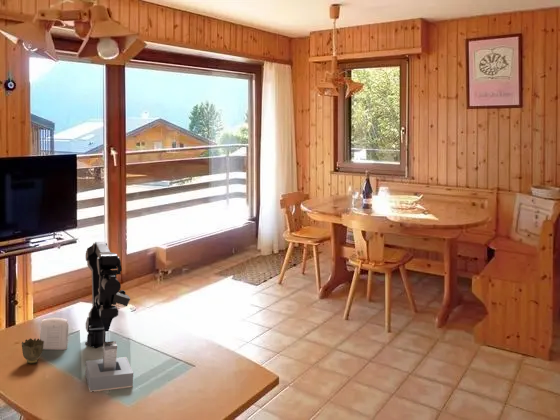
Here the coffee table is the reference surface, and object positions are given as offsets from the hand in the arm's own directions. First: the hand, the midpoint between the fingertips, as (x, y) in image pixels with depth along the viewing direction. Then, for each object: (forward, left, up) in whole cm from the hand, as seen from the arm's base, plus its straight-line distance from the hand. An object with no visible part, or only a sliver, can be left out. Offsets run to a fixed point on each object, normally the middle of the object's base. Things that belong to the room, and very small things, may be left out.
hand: (105, 327), depth 200 cm
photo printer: (+6, -22, -13) cm, 26 cm away
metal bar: (+10, +15, -13) cm, 22 cm away
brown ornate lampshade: (+19, -16, -13) cm, 28 cm away
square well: (+10, +15, -13) cm, 22 cm away
